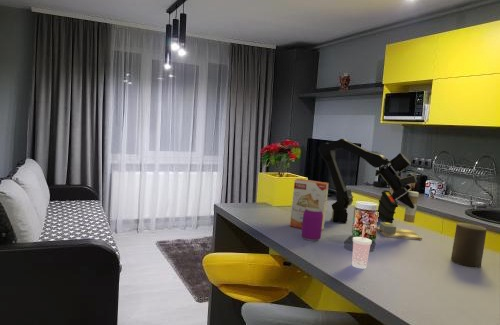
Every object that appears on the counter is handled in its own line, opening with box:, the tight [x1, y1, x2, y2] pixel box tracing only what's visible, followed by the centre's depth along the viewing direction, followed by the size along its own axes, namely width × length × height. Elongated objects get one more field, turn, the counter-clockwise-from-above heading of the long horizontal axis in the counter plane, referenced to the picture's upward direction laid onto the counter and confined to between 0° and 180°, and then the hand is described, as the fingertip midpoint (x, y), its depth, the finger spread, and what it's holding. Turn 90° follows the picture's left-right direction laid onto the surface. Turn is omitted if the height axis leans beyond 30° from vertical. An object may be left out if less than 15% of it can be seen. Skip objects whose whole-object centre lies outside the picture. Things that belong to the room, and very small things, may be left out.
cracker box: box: [289, 178, 330, 231], centre depth 173 cm, size 14×6×21 cm, turn 68°
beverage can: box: [301, 207, 323, 242], centre depth 158 cm, size 8×8×12 cm
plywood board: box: [376, 226, 423, 241], centre depth 177 cm, size 16×12×1 cm
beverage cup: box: [351, 224, 373, 269], centre depth 130 cm, size 6×6×14 cm
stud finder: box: [379, 221, 397, 234], centre depth 177 cm, size 5×7×3 cm
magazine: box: [377, 189, 399, 224], centre depth 202 cm, size 4×13×15 cm, turn 11°
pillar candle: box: [450, 222, 488, 268], centre depth 144 cm, size 10×10×15 cm
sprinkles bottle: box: [403, 190, 420, 224], centre depth 175 cm, size 5×5×14 cm
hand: (414, 207), depth 174 cm, fingers closed on sprinkles bottle, 4 cm apart
